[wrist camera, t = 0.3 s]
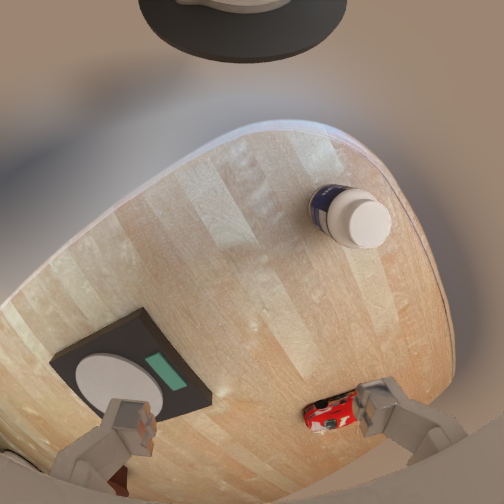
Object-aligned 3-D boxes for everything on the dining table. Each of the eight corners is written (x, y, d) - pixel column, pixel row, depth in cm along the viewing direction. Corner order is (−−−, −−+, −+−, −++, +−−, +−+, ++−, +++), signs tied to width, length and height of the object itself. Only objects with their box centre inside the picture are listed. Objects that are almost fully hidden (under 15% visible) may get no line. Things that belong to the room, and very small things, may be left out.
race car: (379, 378, 39) (389, 394, 35) (376, 399, 41) (385, 414, 37) (301, 403, 39) (307, 422, 35) (304, 422, 40) (309, 440, 36)
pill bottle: (344, 177, 29) (390, 183, 20) (357, 221, 31) (404, 243, 22) (300, 193, 30) (333, 205, 20) (316, 238, 31) (351, 268, 22)
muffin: (114, 451, 40) (104, 489, 31) (143, 476, 44) (137, 511, 34) (75, 449, 40) (63, 482, 31) (104, 474, 44) (96, 505, 34)
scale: (55, 353, 33) (46, 365, 30) (143, 306, 32) (136, 320, 29) (120, 421, 37) (115, 435, 34) (212, 392, 36) (212, 408, 33)
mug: (41, 466, 44) (31, 489, 34) (50, 484, 48) (43, 504, 38) (-12, 433, 40) (-23, 452, 31) (2, 456, 44) (-7, 473, 35)
